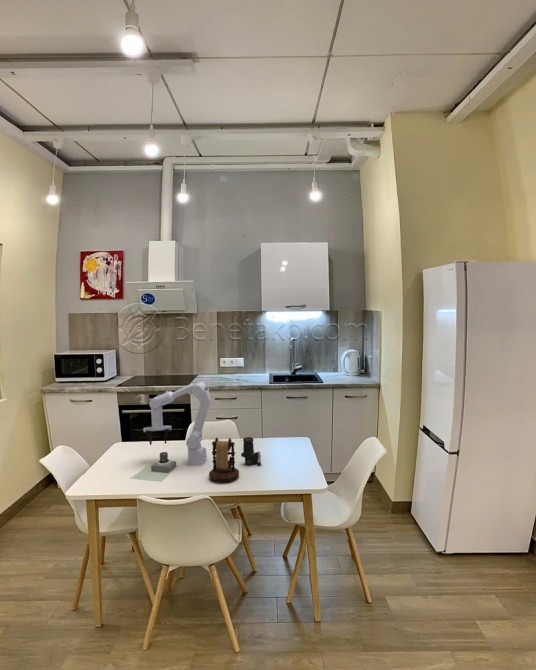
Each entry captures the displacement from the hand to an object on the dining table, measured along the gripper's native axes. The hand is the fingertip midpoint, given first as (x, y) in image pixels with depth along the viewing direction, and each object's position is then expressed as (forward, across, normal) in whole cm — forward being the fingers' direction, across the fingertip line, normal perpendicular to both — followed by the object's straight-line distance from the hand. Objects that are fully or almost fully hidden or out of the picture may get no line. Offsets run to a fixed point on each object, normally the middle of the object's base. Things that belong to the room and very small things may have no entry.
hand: (158, 443), depth 225 cm
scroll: (+11, -33, +28) cm, 45 cm away
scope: (+11, -48, +15) cm, 52 cm away
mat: (+10, +1, +14) cm, 18 cm away
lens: (+7, -3, +12) cm, 14 cm away
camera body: (+10, -3, +12) cm, 16 cm away
